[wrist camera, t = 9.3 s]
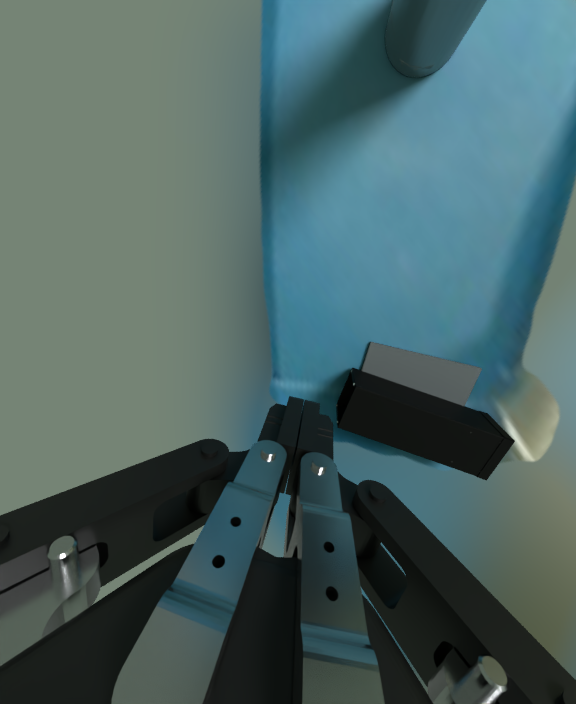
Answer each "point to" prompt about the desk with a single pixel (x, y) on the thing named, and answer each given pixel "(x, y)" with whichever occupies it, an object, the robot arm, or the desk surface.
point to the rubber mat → (422, 372)
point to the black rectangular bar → (421, 424)
